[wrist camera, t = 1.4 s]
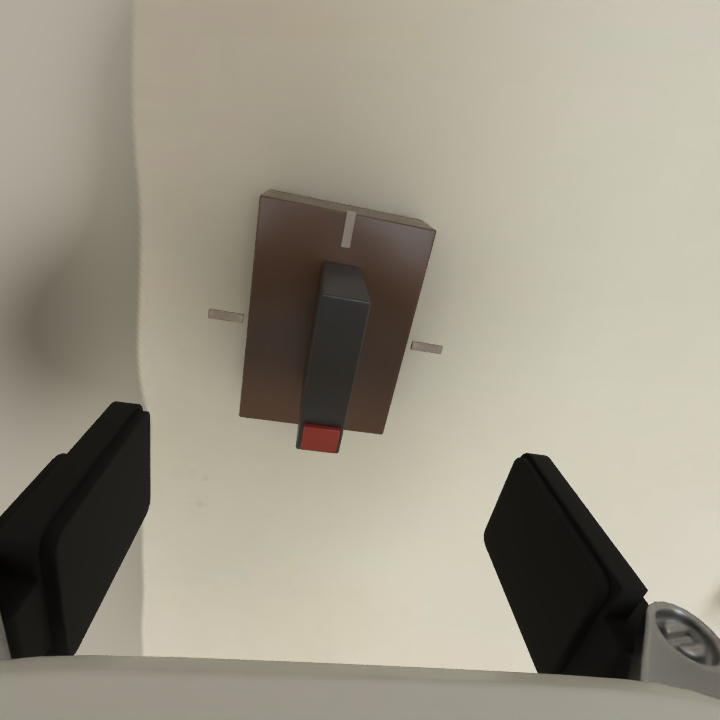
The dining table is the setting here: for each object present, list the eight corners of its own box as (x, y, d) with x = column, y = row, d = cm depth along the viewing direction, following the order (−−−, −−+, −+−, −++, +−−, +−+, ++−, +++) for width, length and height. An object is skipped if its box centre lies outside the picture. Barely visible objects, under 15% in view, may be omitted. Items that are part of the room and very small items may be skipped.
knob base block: (232, 179, 19) (215, 183, 16) (455, 224, 20) (476, 236, 17) (218, 383, 23) (202, 416, 20) (403, 408, 24) (413, 442, 21)
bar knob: (322, 260, 17) (321, 295, 13) (361, 267, 18) (372, 304, 13) (301, 389, 20) (295, 453, 15) (335, 393, 20) (338, 458, 16)
